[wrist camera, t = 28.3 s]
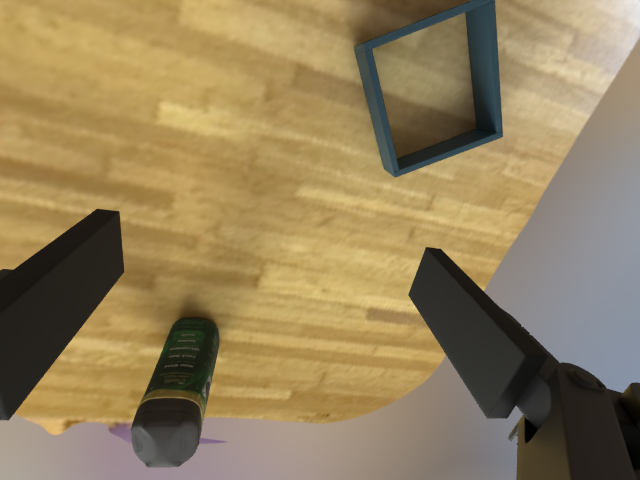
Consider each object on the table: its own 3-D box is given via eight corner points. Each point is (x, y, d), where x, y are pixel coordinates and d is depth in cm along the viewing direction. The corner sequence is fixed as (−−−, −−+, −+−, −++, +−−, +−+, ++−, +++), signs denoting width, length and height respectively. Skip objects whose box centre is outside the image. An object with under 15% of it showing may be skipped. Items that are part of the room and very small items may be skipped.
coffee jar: (169, 314, 51) (120, 425, 34) (221, 316, 52) (197, 424, 36) (171, 358, 55) (128, 477, 38) (219, 359, 56) (197, 474, 40)
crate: (353, 47, 38) (363, 43, 34) (470, 1, 37) (494, -9, 33) (383, 169, 45) (394, 177, 41) (482, 132, 44) (503, 137, 40)
